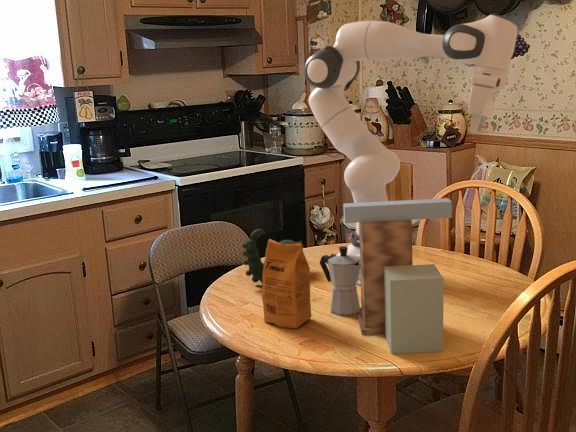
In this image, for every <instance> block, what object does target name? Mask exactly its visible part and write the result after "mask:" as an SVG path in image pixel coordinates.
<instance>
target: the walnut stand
mask: <svg viewBox="0 0 576 432" xmlns="http://www.w3.org/2000/svg"><path fill="white" fill-rule="evenodd" d="M359 236H360V272H361V285H360V300H361V301H360V303H361V307H360V310H361V312H359V313H357V314H356V315H357V321H358V324H359V325H358V326H359V329H360V333H361V335H380V334H385V291H384V267H386V266H407V265H413V220H397V221H377V222H359Z"/></svg>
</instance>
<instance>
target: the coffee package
mask: <svg viewBox="0 0 576 432" xmlns="http://www.w3.org/2000/svg"><path fill="white" fill-rule="evenodd" d="M267 240H268V241H267V245H266V249H265V254H264V255H265V256H264V262H263V263H264V269H263V284H262V283H261V284H262V289H261V291H262V293H261V299H262V304H263V305H262V306H263V320H264V323H268V324H274V325H276V326H277V327H279V328H284V329H285V328H286V329H298V328H299V327H301V326H302V325H303V324H305V323H306V322H307V321H309V320H310V319H311V318H312V304H311V279H310V277H311V269H310V266H309V262H308V260H307V258H306V255H305V252H304V250H303V249H304V248H305V246H304V244H303V243H302V244H280V243H279V242H278V241H276V240H273V239H271V238H269V239H267Z"/></svg>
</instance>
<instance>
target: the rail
mask: <svg viewBox="0 0 576 432" xmlns="http://www.w3.org/2000/svg"><path fill="white" fill-rule="evenodd" d="M342 206H343V221H344V223H345V224H349V223H350V224H353V223H355V224H356V223H357V222H377V221H397V220H411V221H413V220H430V219H431V220H433V219H436V220H437V219H451V218H452V217H453V215H452V213H453V202H452V200H451V199H449V198H448V197H447V198H445V197H444V198H443V197H442V198H427V199H406V200H388V201H383V202H363V203H354V202H348V203H347V202H346V203H343V205H342Z"/></svg>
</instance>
